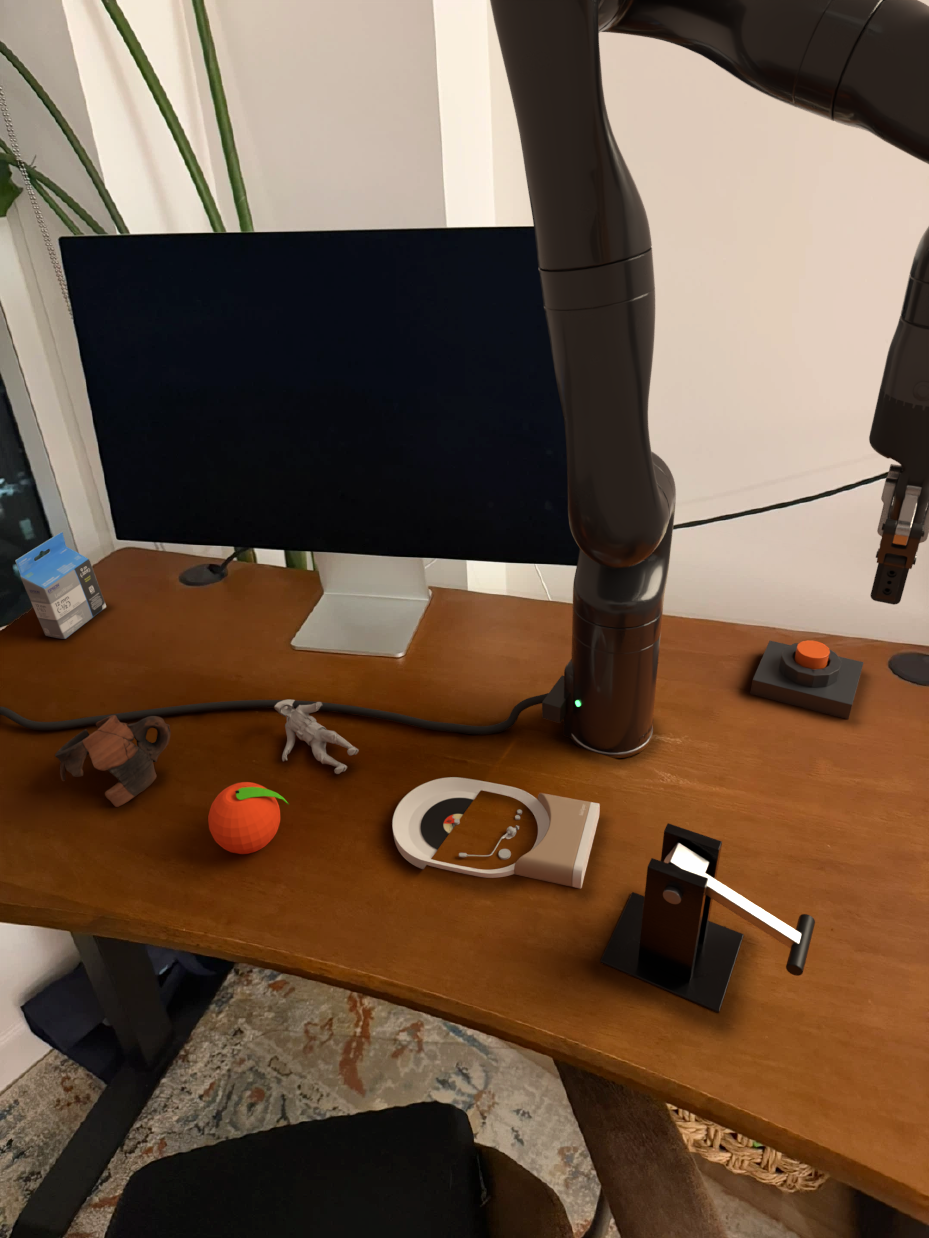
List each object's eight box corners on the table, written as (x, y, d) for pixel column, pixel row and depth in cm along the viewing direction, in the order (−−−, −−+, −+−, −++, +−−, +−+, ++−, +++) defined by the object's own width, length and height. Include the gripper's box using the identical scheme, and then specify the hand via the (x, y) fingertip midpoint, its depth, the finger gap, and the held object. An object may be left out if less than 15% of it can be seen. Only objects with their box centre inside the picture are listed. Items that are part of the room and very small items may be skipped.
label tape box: (65, 640, 119) (36, 564, 112) (42, 636, 120) (12, 560, 113) (108, 608, 125) (83, 534, 119) (86, 604, 127) (60, 530, 120)
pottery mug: (92, 829, 89) (44, 767, 87) (93, 806, 98) (49, 749, 95) (193, 760, 92) (148, 699, 90) (185, 744, 101) (144, 687, 99)
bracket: (742, 942, 73) (763, 840, 66) (717, 1020, 67) (738, 917, 60) (631, 899, 77) (640, 799, 70) (599, 969, 72) (605, 867, 65)
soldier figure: (320, 796, 92) (244, 731, 96) (340, 794, 97) (266, 732, 100) (360, 737, 92) (282, 674, 96) (378, 738, 96) (303, 678, 100)
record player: (579, 882, 75) (372, 839, 81) (578, 905, 77) (376, 861, 83) (601, 791, 85) (415, 758, 90) (601, 813, 86) (417, 779, 92)
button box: (750, 694, 101) (754, 667, 99) (767, 654, 108) (771, 628, 105) (848, 719, 96) (855, 692, 94) (860, 676, 103) (866, 649, 101)
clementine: (297, 810, 89) (286, 760, 85) (295, 861, 83) (283, 810, 79) (219, 821, 88) (205, 771, 84) (212, 873, 82) (196, 822, 79)
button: (791, 665, 100) (794, 653, 99) (797, 649, 102) (800, 637, 101) (824, 673, 98) (826, 661, 97) (829, 656, 101) (832, 644, 100)
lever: (806, 930, 67) (822, 916, 65) (793, 981, 63) (810, 968, 62) (670, 845, 69) (683, 829, 68) (651, 889, 66) (663, 874, 64)
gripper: (999, 425, 52) (929, 653, 62) (1004, 364, 62) (943, 570, 71) (868, 410, 56) (821, 629, 65) (892, 354, 65) (848, 552, 75)
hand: (885, 597), depth 68 cm, fingers closed
